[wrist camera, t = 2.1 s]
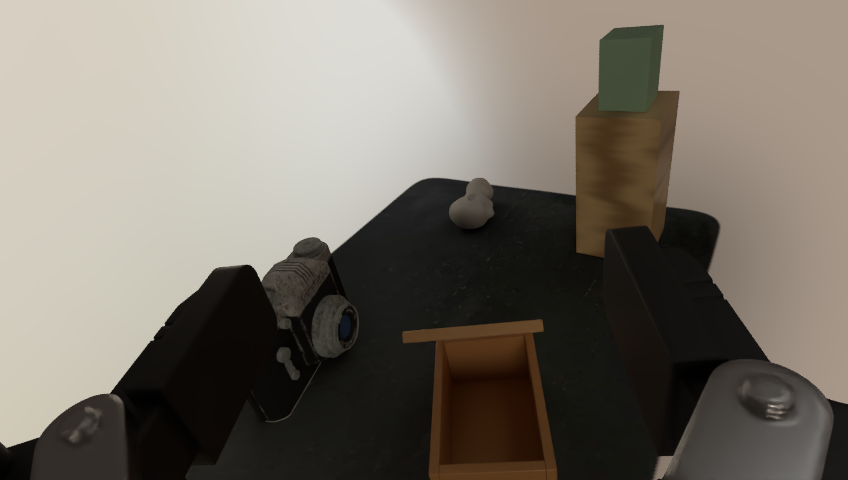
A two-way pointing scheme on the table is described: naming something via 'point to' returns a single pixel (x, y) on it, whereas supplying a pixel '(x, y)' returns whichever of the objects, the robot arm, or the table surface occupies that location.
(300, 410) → the table surface
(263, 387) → the camera
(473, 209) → the pale two-lobed sculpture
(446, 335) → the case lid
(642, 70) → the block
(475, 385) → the case
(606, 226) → the post
